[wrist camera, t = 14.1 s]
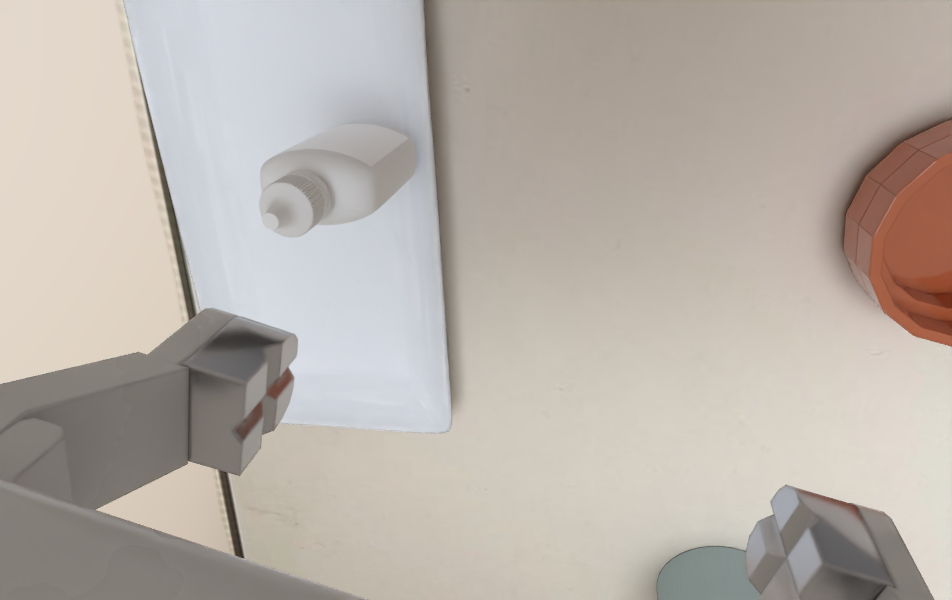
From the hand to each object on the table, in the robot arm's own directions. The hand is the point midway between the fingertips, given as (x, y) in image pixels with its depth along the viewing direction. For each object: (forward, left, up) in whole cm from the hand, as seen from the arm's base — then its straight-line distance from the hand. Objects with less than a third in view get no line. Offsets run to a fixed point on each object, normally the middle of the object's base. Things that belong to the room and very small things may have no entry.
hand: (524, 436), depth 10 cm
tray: (+9, -14, -29) cm, 34 cm away
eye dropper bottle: (+4, -11, -26) cm, 28 cm away
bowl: (0, +21, -29) cm, 36 cm away
